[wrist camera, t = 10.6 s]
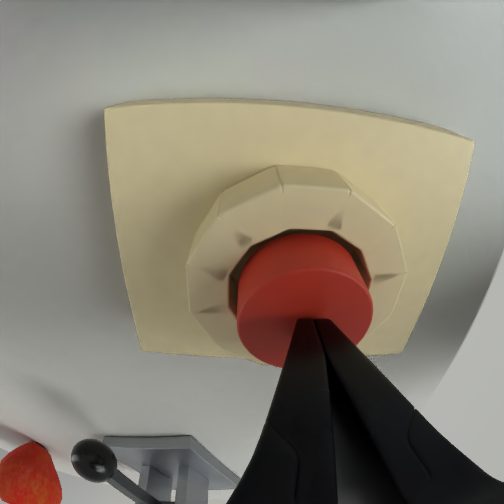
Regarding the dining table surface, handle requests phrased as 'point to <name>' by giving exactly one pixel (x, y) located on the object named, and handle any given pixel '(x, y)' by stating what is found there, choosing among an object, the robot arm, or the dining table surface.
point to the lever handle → (106, 470)
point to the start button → (299, 293)
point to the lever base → (173, 467)
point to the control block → (274, 208)
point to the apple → (29, 476)
